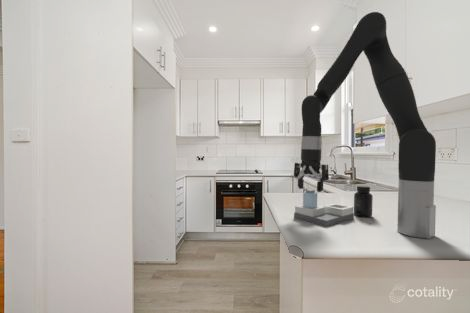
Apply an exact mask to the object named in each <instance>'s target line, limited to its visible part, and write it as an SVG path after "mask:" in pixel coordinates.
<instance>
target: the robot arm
mask: <svg viewBox="0 0 470 313" xmlns="http://www.w3.org/2000/svg"><path fill="white" fill-rule="evenodd" d="M386 20H387V19H386V17H385V15H384V14H383V13H381V12H378V11H372V12H369V13H366V14H364V16H363V17H362V18H360V20H359V21H358V22H357V24H356V26H355V28H354V30H353V31H352V33H351V35H350V37H349V38H348V40H347V42H346V44H345V45H344V47H343V49H342V50H341V52H340V53H339V54H338V56H337V58H336V59H335V60H334V62H333V63H332V64H331V67H329V69H328V70H327V71H326V73H325V74H324V75H323V77H322V78H321V79H320V81H318V83H317V86H316V89H315V92H314V93H313V94H310V95H307V96H305V98H304V99H303V100H302V102H301V118H302V119H301V120H302V130H301V131H302V132H301V135H302V137H301V138H302V139H301V146H300V160H301V161H300V162H295V163H294V166H293V167H294V169H293V177H294V178H297V188H298V189H300V190H303V189H304V178H305V176H307V175H310V176H313V177H314V178H316V181H317V182H316V193H322V191H323V190H324V182H326V181H329V178H330V177H329V176H330V175H329V164H326V163H325V164H321V161H322V145H323V144H322V123H321V114H322V112H323V111H324V110H325V109H326V107H327V105H328V103H329V101H330V100H331V99H332V97H333V95H334V94H335V93H336V92H337V90H339V88H340V87H341V85H342V84H343V83H344V82H345V80H346V79H347V78H348V76H349V74H350V72H351V71H352V69H353V67H354V65H355V64H356V61H357V60H358V58H359V57H360V55H361V54H362V53H364V55H365V56H366V58H367V60H368V63H369V67H370V70H371V75H372V78H373V82H374V85H375V88H376V91H377V92H378V96H379V97H380V99H381V102H382V103H383V106H384V108H385V109H386V110H387V112H388V114H389V116H390V118H391V119H392V122H393V123H394V125H395V129H396V132H397V135H398V139H399V141H398V142H399V143H398V166H397V167H398V189H397V190H398V192H397V196H398V197H397V223H396V224H397V225H396V226H397V232H398V233H400V234H402V235H405V236H409V237H414V238H422V239H427V240H430V239H431V238H433V237H434V236H436V216H437V215H436V214H437V212H436V211H437V209H436V208H437V206H436V204H434V203H435V175H436V158H437V156H436V154H437V153H436V152H437V142H436V139H435V137H434V135H433V134H432V133H431V132H429V131H428V128H427V127H426V126H425V123H424V122H423V120H422V118H421V115H420V113H419V109H418V106H417V105H418V104H417V100H416V97H415V93H414V89H413V86H412V84H411V81H410V79H409V77H408V74H407V72H406V70H405V68H404V67H403V66H402V64H401V63H400V61H399V60H397V58H396V56H394V54H393V52H392V50H391V46H390V44H389V40H388V36H387V21H386ZM320 170H321V171H320Z"/></svg>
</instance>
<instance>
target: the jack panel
mask: <svg viewBox="0 0 470 313" xmlns="http://www.w3.org/2000/svg"><path fill="white" fill-rule="evenodd" d="M354 216H355V215H354V206H350V205H349V206H348V205H344V204H340V203H331V204H325V205H323V206H320V205H317V208H313V209H310V208H305V207H303V204H300V205H294V213H293V217H294V219H297V220H302V221H305V222H309V223H313V224H316V225H320V226H323V227H329V226H333V225H335V224H339V223H342V222H346V221H350V220H352V219H354V218H355V217H354Z"/></svg>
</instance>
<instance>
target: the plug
mask: <svg viewBox="0 0 470 313" xmlns="http://www.w3.org/2000/svg"><path fill="white" fill-rule="evenodd" d="M302 205H303V207H305V208H310V209H313V208H317V206H318V192H316V191H315V189H305V191H303V192H302Z"/></svg>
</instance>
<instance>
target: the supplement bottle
mask: <svg viewBox="0 0 470 313" xmlns="http://www.w3.org/2000/svg"><path fill="white" fill-rule="evenodd" d="M373 199H374V198H373V194H372V193H371V187H370V186H367V185H357V186H356V192H355V193H354V195H353V213H354V216H356V217H361V218H371V217H372V216H373Z"/></svg>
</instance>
